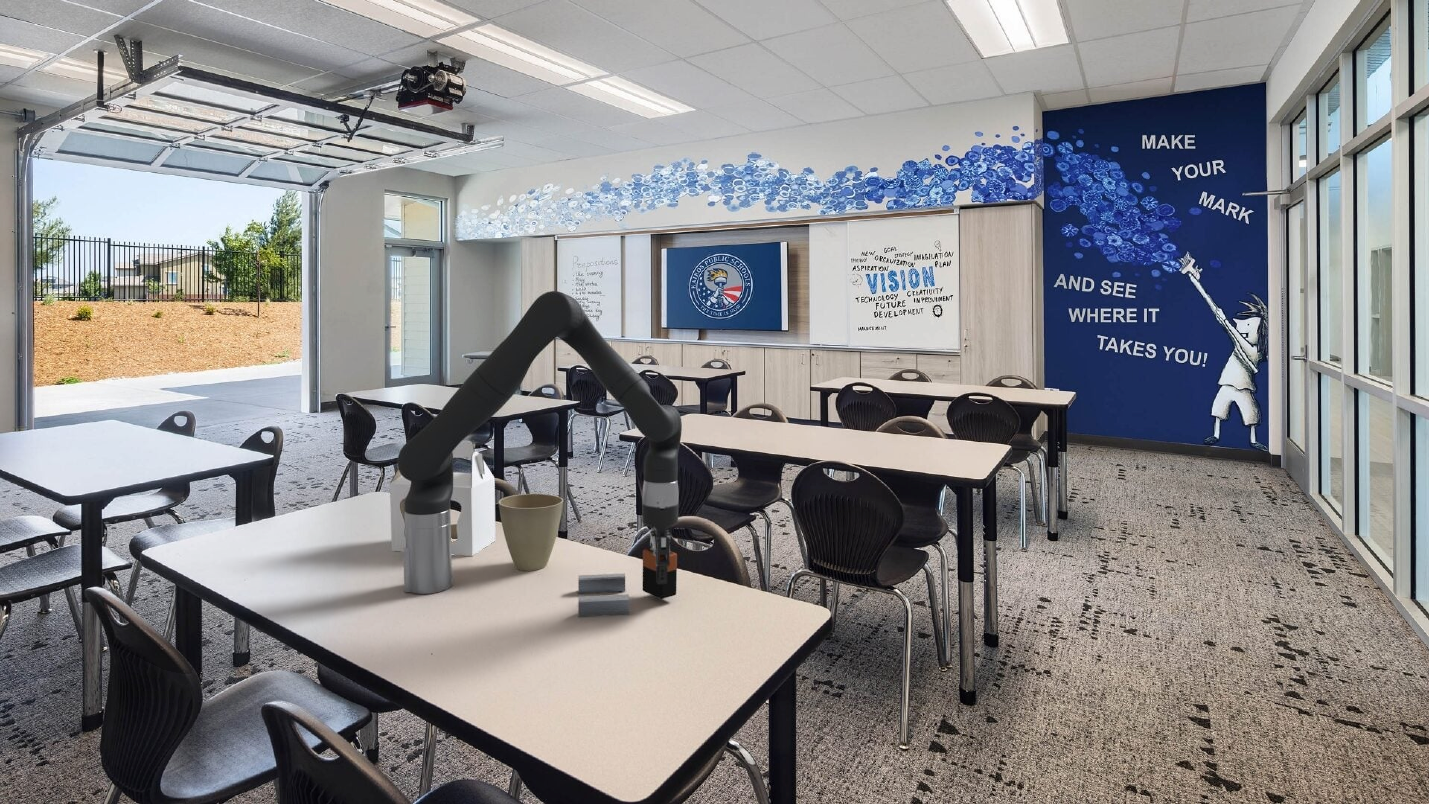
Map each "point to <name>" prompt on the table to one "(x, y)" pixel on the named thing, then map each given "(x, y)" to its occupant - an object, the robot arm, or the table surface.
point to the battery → (650, 575)
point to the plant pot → (530, 527)
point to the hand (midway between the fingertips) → (659, 577)
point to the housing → (602, 603)
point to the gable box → (468, 491)
